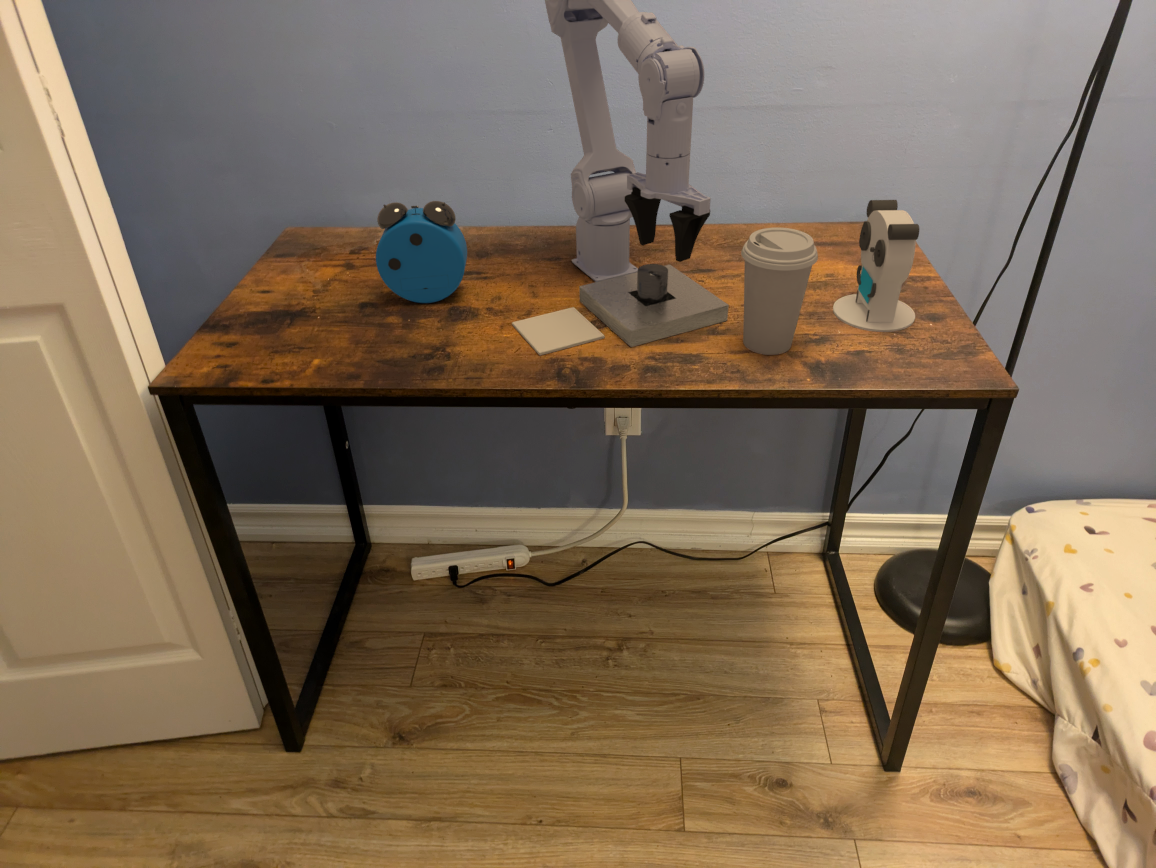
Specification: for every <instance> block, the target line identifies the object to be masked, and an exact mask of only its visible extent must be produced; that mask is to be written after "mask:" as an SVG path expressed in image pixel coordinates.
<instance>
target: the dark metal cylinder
mask: <svg viewBox="0 0 1156 868" xmlns="http://www.w3.org/2000/svg"><path fill="white" fill-rule="evenodd" d="M665 266H666V265H662V264H658V263H648V264H643V265H640V266H639V267H637V268H638V274H637V300H638V301H639V302H641V303H642V304H643V305H644V306H649V305H653V304H657V303H661V302H665V301H667V286H668V269H667V268H666V267H665Z"/></svg>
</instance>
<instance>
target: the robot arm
mask: <svg viewBox="0 0 1156 868" xmlns="http://www.w3.org/2000/svg"><path fill="white" fill-rule="evenodd" d="M544 4H545V8H546V13H547V17H548V18H547V19H548V23H549V24H550V30H551V32H552V34H555V36H557V37H559V38H560V42H561V47H562V50H563V51H562V52H563V57H564V61H565V66H566V71H567V77H568V81H569V82H568V83H569V87H570V92H571V97H572V101H573V106H574V111H575V115H576V121H577V126H578V132H579V136H580V141H581V146H582V152H583V157H581V159H580V160H579V162H578V163H577V164H576V166H575V167H574V168H573V169H572V171H571V173H570V180H571V201H572V206H573V208H574V211H575V213H576V215H577V216H578V218H577V220H576V224H575V236H576V237H575V239H576V243H575V244H576V258H573V259H571V263H572V264H574V265H575V266H576V267H578V268H579V269H580V270H581V271H582V272H583V273H584V274H585V275H587V276H588V277H590V278H591V279H592V281H594V283H595V282H599V281H603V280H607V279H611V278H616V277H620V276H624V275H628V274H632V273H636V272H638V268H639V267H637V266H635V265H634V264H632V263H631V262H630V240H631V239H630V237H631V236H630V230H631V229H630V228H631V226H630V225H631V223H630V222H631V221H630V219H631V218H633V222H634V225H635V227H636V228H635V230H636V233H637V238H638V241H639V245H641V246H646V245H649V244H652V243H654V242H655V238H656V233H657V220H658V214H659V213H658V212H659V209H660V204H661V201H666V202H667V203H668V202H669V203H670V204H672V205H673V204H674V205H676V206H678V207H681V209H680V210H676V211H673V212H670V213H669V217H668V218H669V219H670V221H671V224H672V229H673V234H674V255H675V256H674V257H675V261H677V262H678V263H681V262H682V263H683V261H687V260H690V259H691V257H692V253H693V249H694V247H695V244H696V240H697V239H698V236H699V233H700V232H701V230H702V228H703V226H704V225H705V223H706V221H707V220H708V219H709V217H710V216H711V197H710V196H707V195H705V194H703V193H702V192H700V191H699V190H697V189H696V188H695V187H693V185H691V184H689V183H690V166H691V164H690V162H691V146H692V131H693V127H692V126H693V112H694V111H693V108H694V98H696V97H698V96H699V95H700V94H701V92H702V90H703V87H704V84H705V65H704V62H703V59H702V57H701V55H700V53H699V51H698V49H697V48H696V47H694V46H684V45H678V44H677V43H676V41H675V40H674V39H673V38H672V37H671V35H670V34H669V33H668V31H667V30H666V29H665V28H664V26H662V25H661V23H660V22H659V20H658V19H657V16H656V15H655V14H654V13H653V12H647V11H639V10H638V8H637V7H636V5H635V4H634V3H633V1H632V0H544ZM608 25H610V27H612V29H613V30H615V32H616V33H617V46H618V49H619V51H620V52H621V53H622V54H623V56H624V57H625V59H627V61H628V62H629V64H630V65H631V66H632V68H633V69H634V70H635V71H636V73H637V74H638V86H639V91H640V94H641V98H642V111H643V115H644V116H645V117H646V152H645V153H646V154H645V156H646V158H645V173H641V172H638V171H637V170H636V169H635V165H634V160H633V159H632V158H631V157H630V156H628V155H626V154H624V153H623V152H622V151H620V150H619V149H618V148H617V146H616V139H615V134H614V130H613V129H614V128H613V124H612V119H611V114H610V113H611V112H610V107H609V103H608V98H607V97H608V96H607V92H606V87H605V82H604V77H603V72H602V71H603V70H602V66H601V61H600V56H599V51H598V46H597V36H598V34H599V32H600V31H603V29H605V28H606V27H607V26H608ZM607 172H608V173H607ZM609 172H610V173H609ZM602 173H603V174H602ZM604 173H606V174H604ZM596 174H597V175H596ZM598 174H600V175H598ZM591 175H592V176H591ZM593 175H595V176H593Z"/></svg>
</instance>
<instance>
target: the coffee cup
mask: <svg viewBox="0 0 1156 868" xmlns="http://www.w3.org/2000/svg"><path fill="white" fill-rule="evenodd" d="M814 241H815V240H814V239H813V236H811V235H809V234H808V233H806V232H804V231H803V230H802V231H801V230H799V229H794V228H788V227H766V228H765V227H764V228H762V229H761V228H760V229H757V230H755V231H753V232H752V233H751V234H750V235H749V237H748V240H747V241H745V243H744V244H743V247H742V249H741V252H740V254H741V257H742V259H743V260H744V270H743V271H744V274H743V275H744V279H743V280H744V281H743V282H744V283H743V288H744V289H743V325H742V326H743V329H742V331H743V334H742V336H743V340H742V342H743V345H744V347H745V348H746V349H748V350H749V351H751V352H754V353H756V354H760V355H766V356H776V355H780V354H784V353H787V352H789V350H790V349H791V348H792V345H793V340H794V336H795V334H796V333H795V332H796V329H797V324H798V320H799V317H800V315H801V314H800V313H801V311H802V310H801V309H802V305H803V302H804V299H805V295H806V290H807V288H808V283H809V279H810V275H811V273H812V272H811V271H812V269H813V266H814V265H815V264H816V263H817V261H818V260H819V255H818V253H819V252H818V250H817V246H816V245H815V243H814Z"/></svg>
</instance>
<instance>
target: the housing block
mask: <svg viewBox="0 0 1156 868" xmlns="http://www.w3.org/2000/svg"><path fill="white" fill-rule="evenodd" d="M664 266H665V267H666V268H667V269H668V286H667V301H665V302H661V303H657V304H653V305H649V306H644V305H643V304H642V303H641V302H639V301H638V300H637V274H638V272H636V273H632V274H628V275H624V276H620V277H616V278H611V279H607V280H603V281H599V282H595V281H594V282H591V283H586V284H583V285H579V292H578V293H579V302H580V303H581V304H583V306H585V307H586V308H587V310H589V311H590V312H591V313H592V314H593V315H594V316H595V317H597V318H598V319H599V320H600V321H601V322H602V323H603V324H605V325H606V326H607V328H609V329H610V330H611V331H612V332H613V333H615V334H616V335H617V336H618V338H620V339H621V340H622V341H623V343H624V342H625V344H626V345H628V346H629V347H630V348H633V347H637V346H640V345H644V344H647V343H650V342H655V341H659V340H662V339H666V338H669V337H673V336H676V335H680V334H684V333H687V332H691V331H695V330H698V329H701V328H705V327H710V326H713V325H715V324H717V325H718V324H719V323H723V322H727V321H728V317H729V315H728V314H729V307H730V305H729V304H728V303H727V302H725V301H724V300H723V299H721V298H719V297H718V296H717V295H715V294H714V293H712V292H711V291H710V290H708V289H706V288H705V287H703V286H702V285H701V284H700V283H697V282H696V281H695V280H693V279H692V278H690V277H689V276H687V275H686V274H685V273H683V272H682V271H680V270H679V269H677V268H676V267H675V266H673V265H671V264H666V265H664Z"/></svg>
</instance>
